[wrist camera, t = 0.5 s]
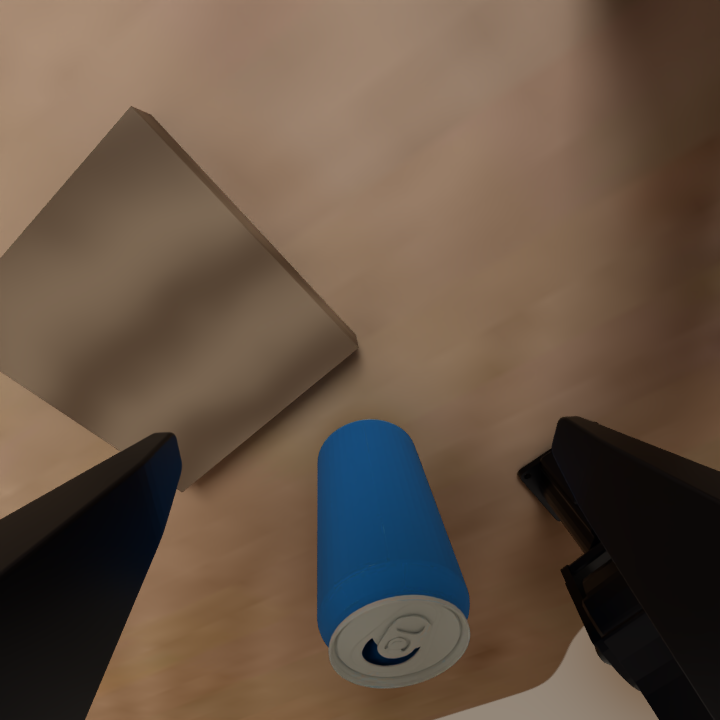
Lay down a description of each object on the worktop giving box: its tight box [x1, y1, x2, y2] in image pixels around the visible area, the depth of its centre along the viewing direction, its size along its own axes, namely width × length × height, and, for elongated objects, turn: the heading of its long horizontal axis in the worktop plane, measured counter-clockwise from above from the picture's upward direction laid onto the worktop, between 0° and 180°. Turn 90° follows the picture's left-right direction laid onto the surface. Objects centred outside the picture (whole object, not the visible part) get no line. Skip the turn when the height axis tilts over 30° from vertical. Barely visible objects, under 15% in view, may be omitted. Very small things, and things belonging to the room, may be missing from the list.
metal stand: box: [0, 106, 358, 492], centre depth 20 cm, size 14×14×2 cm
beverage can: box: [317, 419, 470, 688], centre depth 20 cm, size 6×6×12 cm
